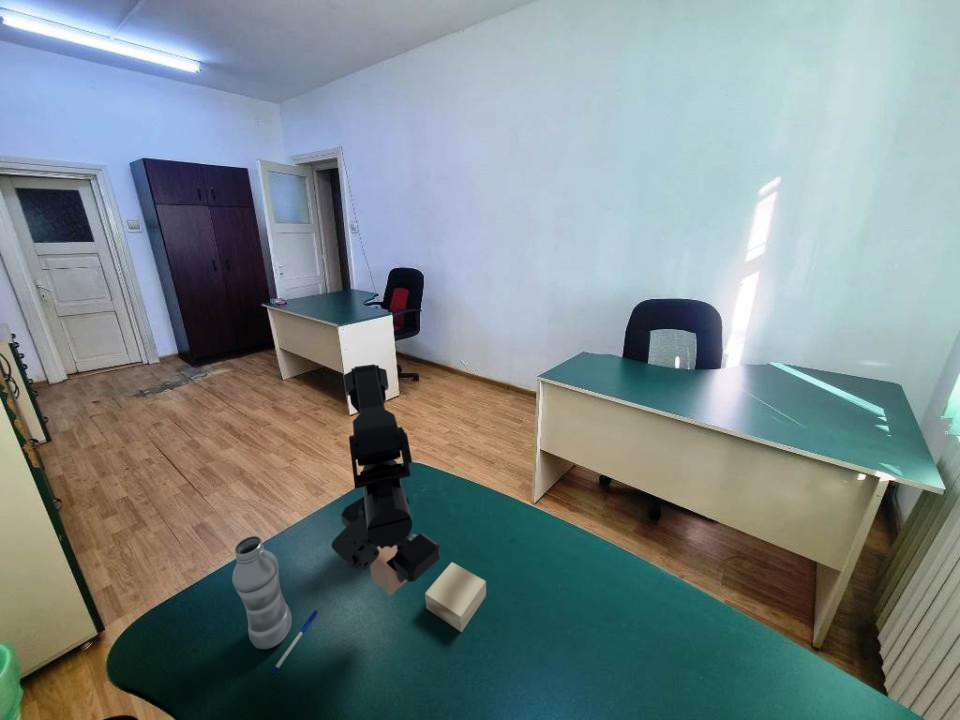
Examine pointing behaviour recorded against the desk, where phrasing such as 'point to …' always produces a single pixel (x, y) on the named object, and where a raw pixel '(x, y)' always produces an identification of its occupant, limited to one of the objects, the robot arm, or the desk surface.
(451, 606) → the beech block
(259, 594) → the plastic bottle
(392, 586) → the terracotta block
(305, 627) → the ballpoint pen
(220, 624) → the desk surface
